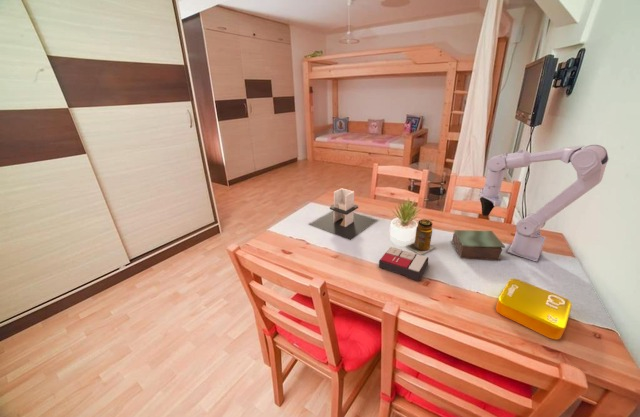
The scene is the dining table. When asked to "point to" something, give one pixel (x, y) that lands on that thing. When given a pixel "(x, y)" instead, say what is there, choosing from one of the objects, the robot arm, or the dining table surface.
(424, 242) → the condiment
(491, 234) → the sage green tile
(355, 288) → the dining table surface
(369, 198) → the dining table surface
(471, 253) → the brown box
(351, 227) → the candle holder
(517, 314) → the element tile
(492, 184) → the robot arm
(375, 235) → the dining table surface
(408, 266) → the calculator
